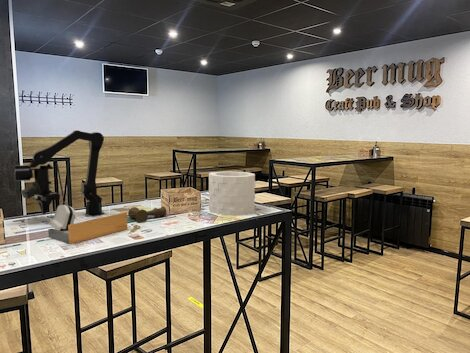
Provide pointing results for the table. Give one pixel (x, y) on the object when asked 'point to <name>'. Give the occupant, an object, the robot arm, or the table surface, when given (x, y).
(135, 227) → the brass key
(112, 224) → the wooden rectangular panel
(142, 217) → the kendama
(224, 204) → the basket
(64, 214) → the hinge
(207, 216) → the table surface
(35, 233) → the table surface
